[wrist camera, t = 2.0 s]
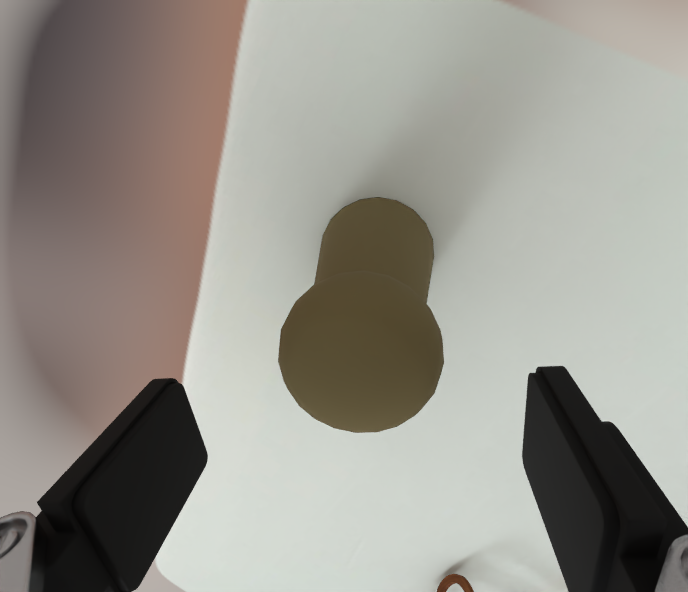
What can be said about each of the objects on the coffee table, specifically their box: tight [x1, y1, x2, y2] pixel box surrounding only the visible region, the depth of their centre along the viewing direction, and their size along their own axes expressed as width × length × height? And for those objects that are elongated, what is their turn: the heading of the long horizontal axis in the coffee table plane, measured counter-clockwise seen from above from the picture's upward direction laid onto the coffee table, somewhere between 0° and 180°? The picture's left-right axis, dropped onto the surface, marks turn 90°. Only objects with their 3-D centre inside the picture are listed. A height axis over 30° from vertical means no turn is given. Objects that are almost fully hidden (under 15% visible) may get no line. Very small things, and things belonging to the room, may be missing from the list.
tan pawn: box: [278, 197, 444, 433], centre depth 16 cm, size 6×6×11 cm
